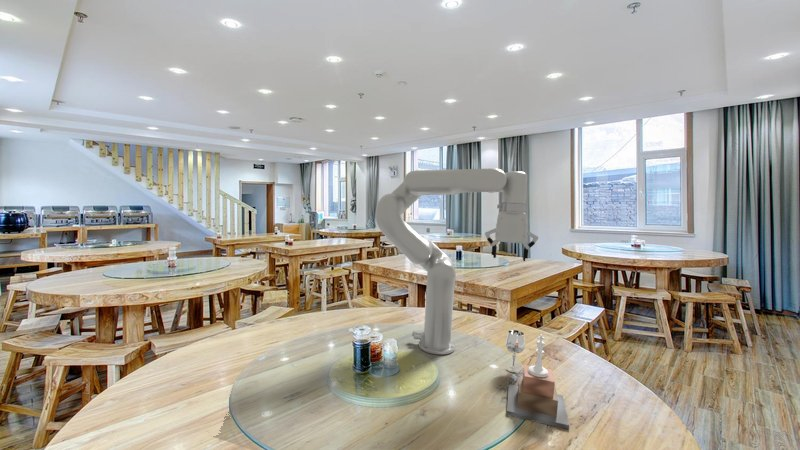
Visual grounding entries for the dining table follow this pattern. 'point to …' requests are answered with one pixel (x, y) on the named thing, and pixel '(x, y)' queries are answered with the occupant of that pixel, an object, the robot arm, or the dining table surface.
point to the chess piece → (539, 361)
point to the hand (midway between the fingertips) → (509, 258)
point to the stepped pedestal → (537, 400)
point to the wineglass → (515, 343)
